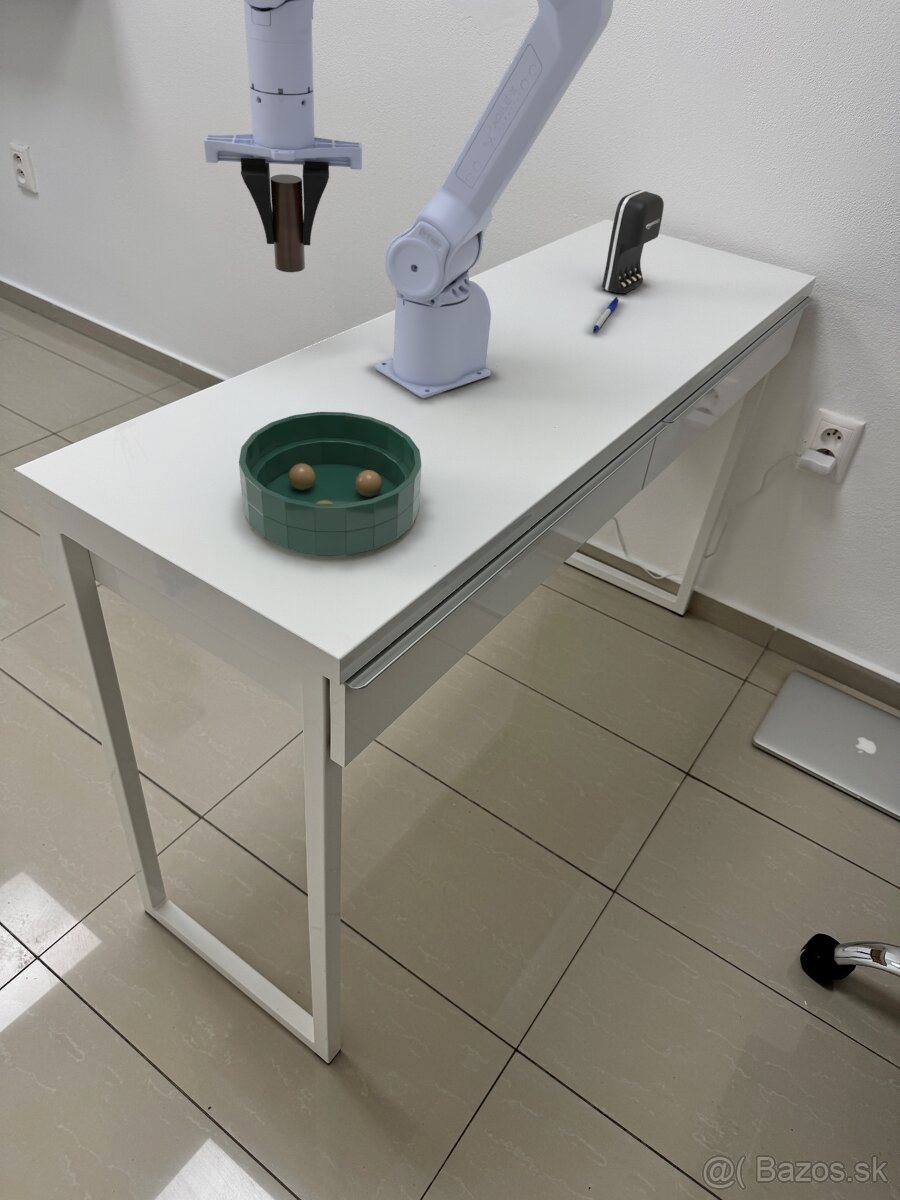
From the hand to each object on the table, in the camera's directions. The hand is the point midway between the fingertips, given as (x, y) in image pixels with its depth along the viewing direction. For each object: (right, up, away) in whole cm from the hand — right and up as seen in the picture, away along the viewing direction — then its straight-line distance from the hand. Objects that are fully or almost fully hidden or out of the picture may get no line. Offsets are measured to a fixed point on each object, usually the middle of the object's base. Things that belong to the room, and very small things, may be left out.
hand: (288, 241), depth 88 cm
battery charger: (+39, +4, +26) cm, 47 cm away
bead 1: (+4, -26, -16) cm, 31 cm away
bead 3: (+10, -27, -16) cm, 33 cm away
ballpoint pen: (+35, -2, +18) cm, 39 cm away
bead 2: (+7, -30, -20) cm, 36 cm away
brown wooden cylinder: (0, -2, +2) cm, 3 cm away
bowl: (+7, -29, -17) cm, 34 cm away
